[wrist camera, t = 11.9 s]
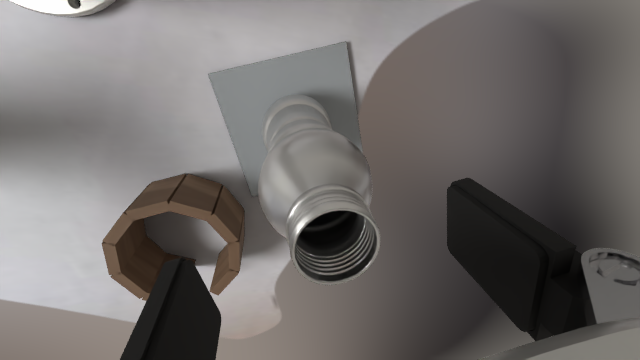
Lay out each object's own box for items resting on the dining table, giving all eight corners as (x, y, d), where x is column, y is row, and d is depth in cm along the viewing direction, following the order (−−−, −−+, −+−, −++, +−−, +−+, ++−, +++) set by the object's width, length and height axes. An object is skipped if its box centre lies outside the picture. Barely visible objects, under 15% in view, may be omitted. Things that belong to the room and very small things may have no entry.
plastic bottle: (327, 90, 28) (431, 162, 10) (325, 156, 31) (403, 303, 13) (260, 90, 27) (242, 168, 9) (264, 157, 30) (256, 320, 12)
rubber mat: (208, 73, 26) (207, 74, 26) (344, 41, 27) (346, 41, 27) (252, 194, 32) (252, 196, 31) (363, 165, 33) (365, 167, 32)
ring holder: (109, 192, 29) (73, 224, 24) (226, 163, 30) (216, 187, 24) (160, 275, 34) (139, 317, 29) (259, 248, 35) (257, 284, 29)
